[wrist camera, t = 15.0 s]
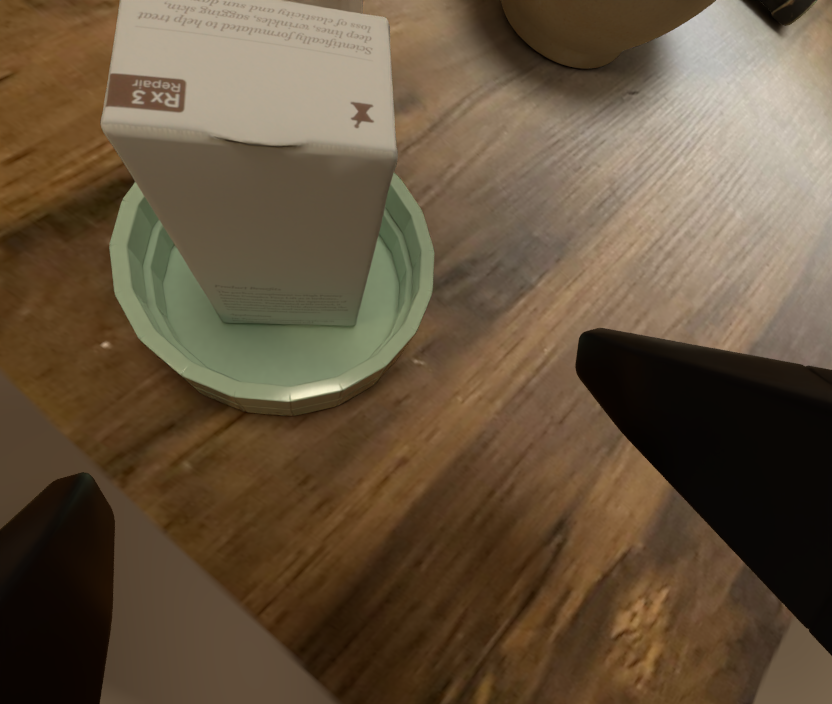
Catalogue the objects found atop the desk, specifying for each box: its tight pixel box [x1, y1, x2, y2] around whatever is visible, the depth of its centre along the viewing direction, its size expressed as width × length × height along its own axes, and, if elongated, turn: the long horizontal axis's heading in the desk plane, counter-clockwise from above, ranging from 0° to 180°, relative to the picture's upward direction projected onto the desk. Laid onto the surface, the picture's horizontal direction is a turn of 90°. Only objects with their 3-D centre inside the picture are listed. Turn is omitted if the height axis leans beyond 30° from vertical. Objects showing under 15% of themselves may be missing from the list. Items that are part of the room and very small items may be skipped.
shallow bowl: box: [109, 173, 434, 416], centre depth 20 cm, size 12×12×4 cm
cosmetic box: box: [101, 0, 398, 326], centre depth 15 cm, size 6×4×12 cm
